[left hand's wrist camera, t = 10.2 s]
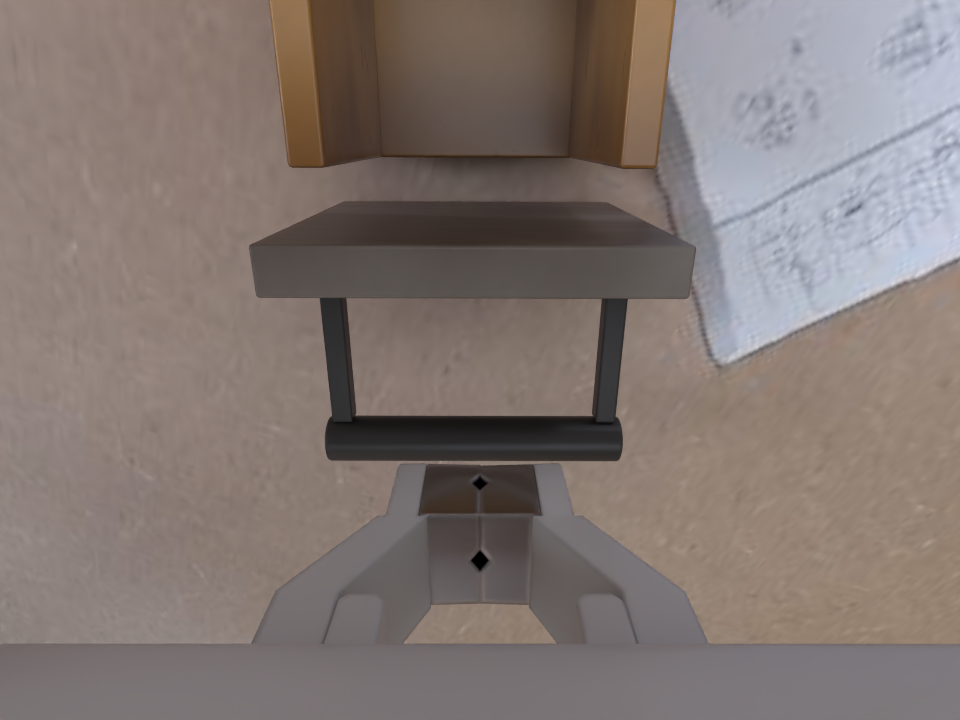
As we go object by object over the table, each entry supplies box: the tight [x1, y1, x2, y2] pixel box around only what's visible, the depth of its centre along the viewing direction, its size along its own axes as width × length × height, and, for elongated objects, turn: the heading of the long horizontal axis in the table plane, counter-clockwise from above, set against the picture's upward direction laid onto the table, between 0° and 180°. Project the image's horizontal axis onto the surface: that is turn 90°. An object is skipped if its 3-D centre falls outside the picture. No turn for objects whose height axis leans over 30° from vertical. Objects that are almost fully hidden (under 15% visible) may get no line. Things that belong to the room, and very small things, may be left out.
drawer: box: [249, 0, 696, 461], centre depth 15 cm, size 22×10×9 cm, turn 0°
